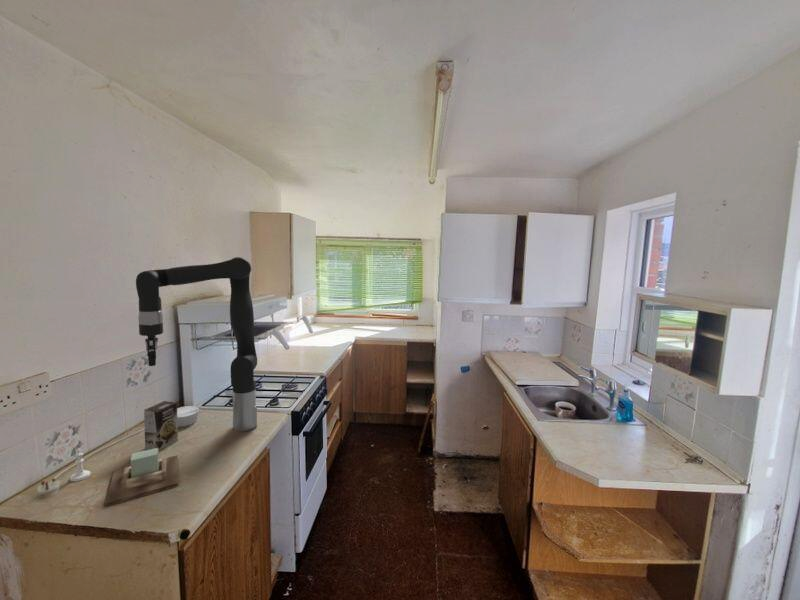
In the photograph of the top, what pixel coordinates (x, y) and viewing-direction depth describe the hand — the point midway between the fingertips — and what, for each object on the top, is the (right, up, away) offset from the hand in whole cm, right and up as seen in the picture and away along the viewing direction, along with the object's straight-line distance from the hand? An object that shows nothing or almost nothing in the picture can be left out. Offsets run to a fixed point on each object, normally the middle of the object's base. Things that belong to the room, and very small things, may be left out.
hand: (152, 362), depth 130 cm
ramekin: (0, -31, +19) cm, 36 cm away
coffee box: (+3, -33, +1) cm, 33 cm away
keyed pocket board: (+12, -36, -19) cm, 42 cm away
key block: (+12, -35, -19) cm, 41 cm away
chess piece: (-10, -35, -20) cm, 41 cm away
